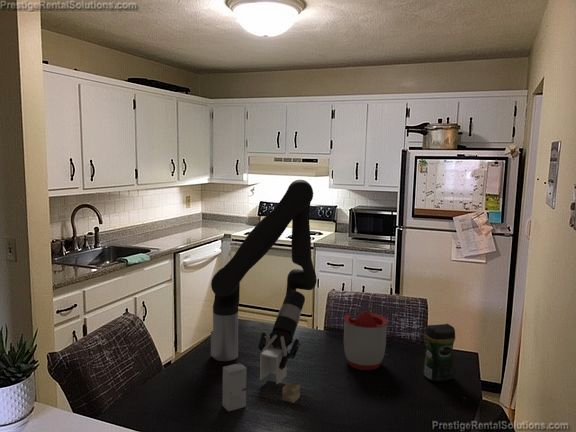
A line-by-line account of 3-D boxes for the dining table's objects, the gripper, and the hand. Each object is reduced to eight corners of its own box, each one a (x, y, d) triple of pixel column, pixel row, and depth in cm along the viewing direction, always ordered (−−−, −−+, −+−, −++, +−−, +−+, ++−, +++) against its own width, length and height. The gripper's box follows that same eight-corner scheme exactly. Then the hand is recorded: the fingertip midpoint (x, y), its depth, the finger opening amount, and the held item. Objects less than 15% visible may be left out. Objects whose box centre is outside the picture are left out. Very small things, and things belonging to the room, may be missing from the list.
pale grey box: (260, 379, 153) (260, 353, 152) (269, 371, 159) (269, 346, 158) (277, 384, 150) (277, 357, 149) (286, 375, 156) (286, 350, 155)
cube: (282, 400, 145) (282, 387, 144) (288, 394, 148) (288, 382, 148) (294, 403, 143) (294, 390, 142) (299, 397, 146) (299, 385, 146)
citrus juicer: (366, 350, 183) (368, 300, 180) (394, 369, 167) (397, 314, 165) (331, 357, 176) (333, 305, 173) (357, 377, 160) (360, 320, 158)
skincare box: (228, 412, 137) (228, 372, 135) (221, 405, 141) (221, 366, 139) (247, 406, 140) (247, 367, 139) (240, 399, 144) (240, 362, 142)
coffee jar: (443, 370, 167) (447, 320, 164) (456, 381, 159) (460, 328, 157) (419, 373, 164) (422, 321, 162) (431, 383, 157) (434, 330, 154)
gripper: (265, 311, 162) (247, 357, 153) (303, 318, 156) (287, 366, 147) (272, 321, 167) (255, 366, 158) (309, 328, 161) (294, 375, 152)
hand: (271, 366), depth 152 cm, fingers closed on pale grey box, 6 cm apart
